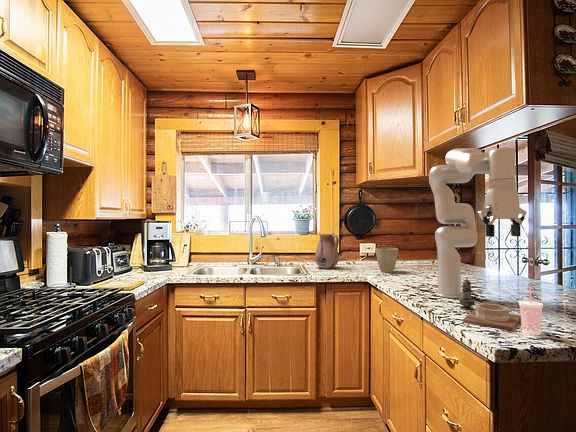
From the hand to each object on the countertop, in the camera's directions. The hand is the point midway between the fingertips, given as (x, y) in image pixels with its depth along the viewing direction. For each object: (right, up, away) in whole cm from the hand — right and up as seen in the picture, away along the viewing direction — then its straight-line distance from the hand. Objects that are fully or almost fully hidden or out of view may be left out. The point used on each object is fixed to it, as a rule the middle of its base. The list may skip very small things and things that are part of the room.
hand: (502, 236), depth 112 cm
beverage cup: (+2, -29, -10) cm, 31 cm away
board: (-2, -29, +3) cm, 29 cm away
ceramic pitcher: (-42, -32, +133) cm, 143 cm away
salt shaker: (-3, -29, +18) cm, 34 cm away
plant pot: (-6, -31, +113) cm, 117 cm away
